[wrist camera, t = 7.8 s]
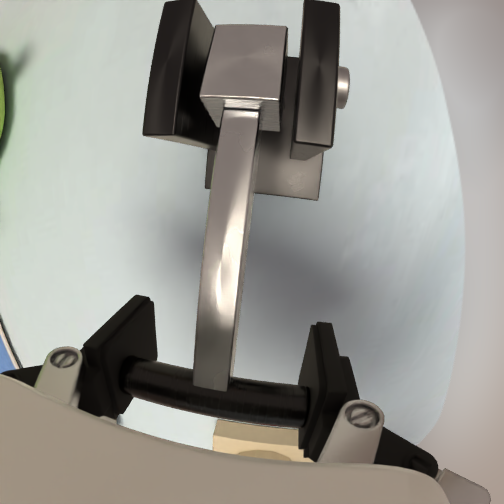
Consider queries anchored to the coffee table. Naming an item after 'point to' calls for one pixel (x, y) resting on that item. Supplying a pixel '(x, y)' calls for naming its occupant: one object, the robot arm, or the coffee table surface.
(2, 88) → the teapot
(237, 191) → the lever
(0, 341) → the tablet
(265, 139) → the switch bracket
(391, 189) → the coffee table surface
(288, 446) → the control box
